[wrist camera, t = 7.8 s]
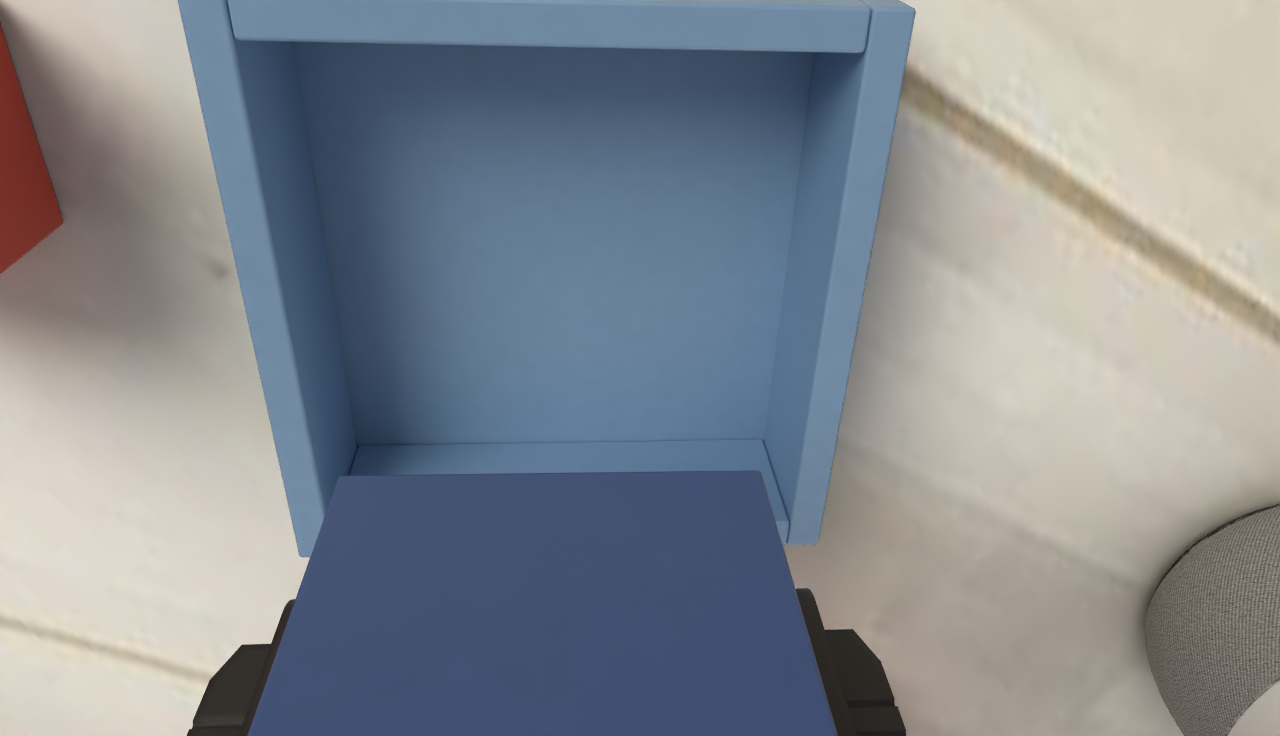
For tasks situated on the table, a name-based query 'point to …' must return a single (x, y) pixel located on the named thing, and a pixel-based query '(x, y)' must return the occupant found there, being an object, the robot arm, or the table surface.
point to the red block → (21, 173)
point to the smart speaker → (1221, 631)
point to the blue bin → (552, 230)
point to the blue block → (547, 611)
